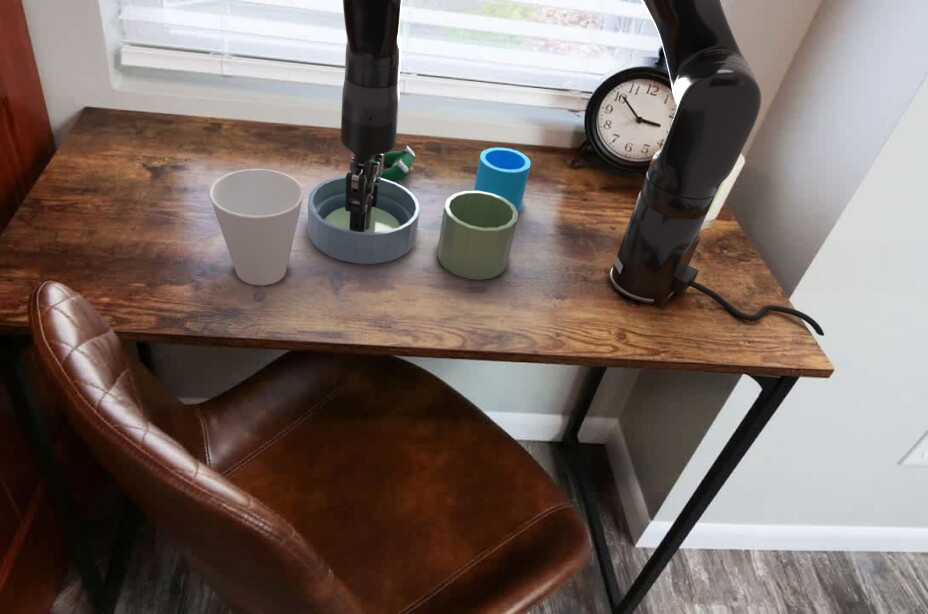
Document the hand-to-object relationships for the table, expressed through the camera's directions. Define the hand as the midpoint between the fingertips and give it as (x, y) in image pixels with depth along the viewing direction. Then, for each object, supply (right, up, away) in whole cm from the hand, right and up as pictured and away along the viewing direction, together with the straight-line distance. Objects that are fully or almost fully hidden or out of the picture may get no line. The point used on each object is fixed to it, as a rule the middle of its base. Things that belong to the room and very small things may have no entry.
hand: (363, 217), depth 104 cm
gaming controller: (+4, +10, +16) cm, 19 cm away
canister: (+16, -6, +1) cm, 17 cm away
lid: (0, -1, +1) cm, 2 cm away
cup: (-14, -9, -7) cm, 18 cm away
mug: (+21, +6, +14) cm, 26 cm away
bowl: (0, -2, +2) cm, 3 cm away
